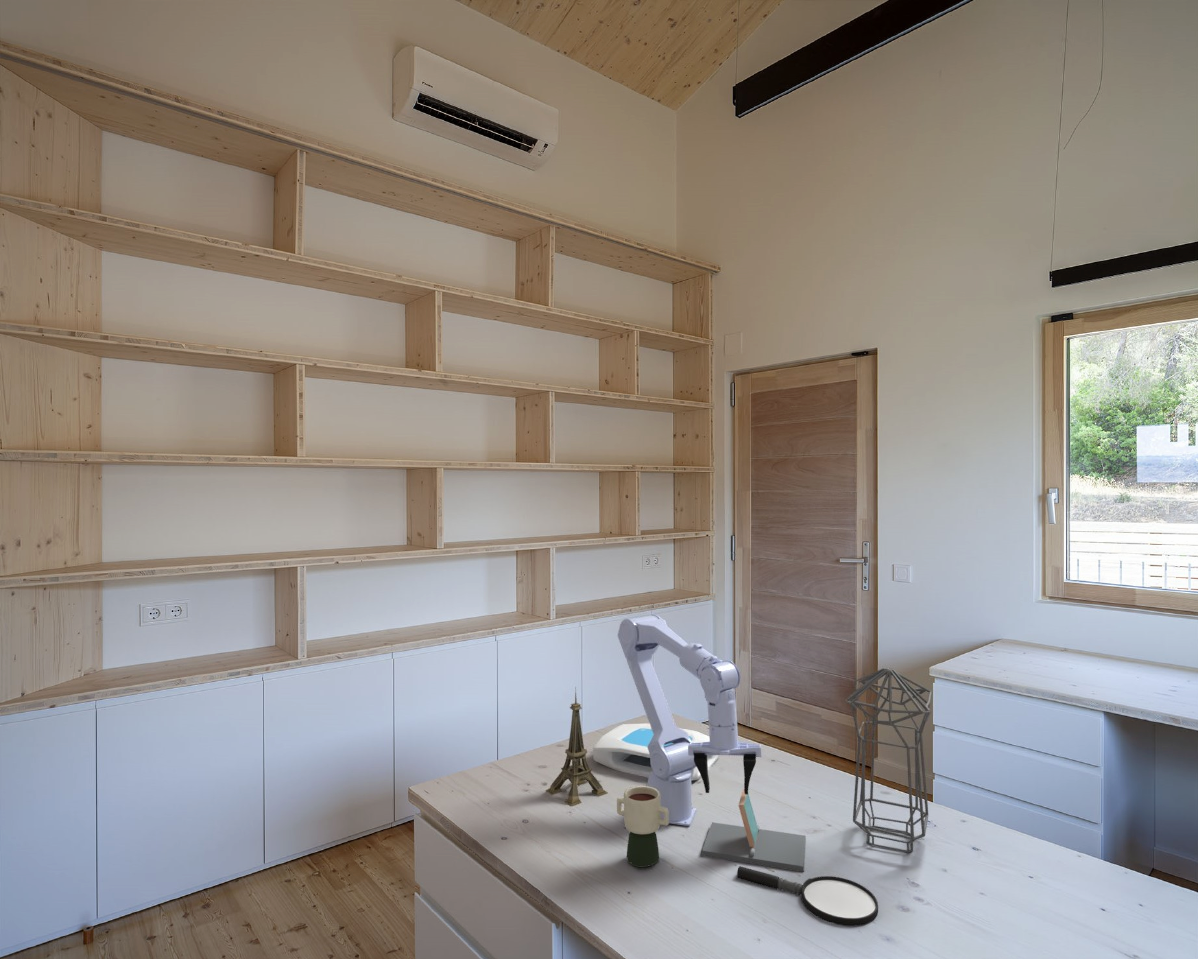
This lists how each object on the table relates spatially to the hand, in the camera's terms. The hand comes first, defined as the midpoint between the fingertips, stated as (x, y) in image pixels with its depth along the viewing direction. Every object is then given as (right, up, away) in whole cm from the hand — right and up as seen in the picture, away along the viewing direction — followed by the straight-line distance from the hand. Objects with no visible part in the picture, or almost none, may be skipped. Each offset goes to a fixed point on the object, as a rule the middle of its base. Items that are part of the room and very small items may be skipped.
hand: (726, 791), depth 137 cm
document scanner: (-10, -12, +43) cm, 46 cm away
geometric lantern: (+33, -10, 0) cm, 35 cm away
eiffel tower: (-31, -12, +25) cm, 42 cm away
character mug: (-17, -11, -6) cm, 21 cm away
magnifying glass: (+11, -11, -17) cm, 23 cm away
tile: (+4, -5, -1) cm, 6 cm away
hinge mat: (+5, -10, -2) cm, 12 cm away
